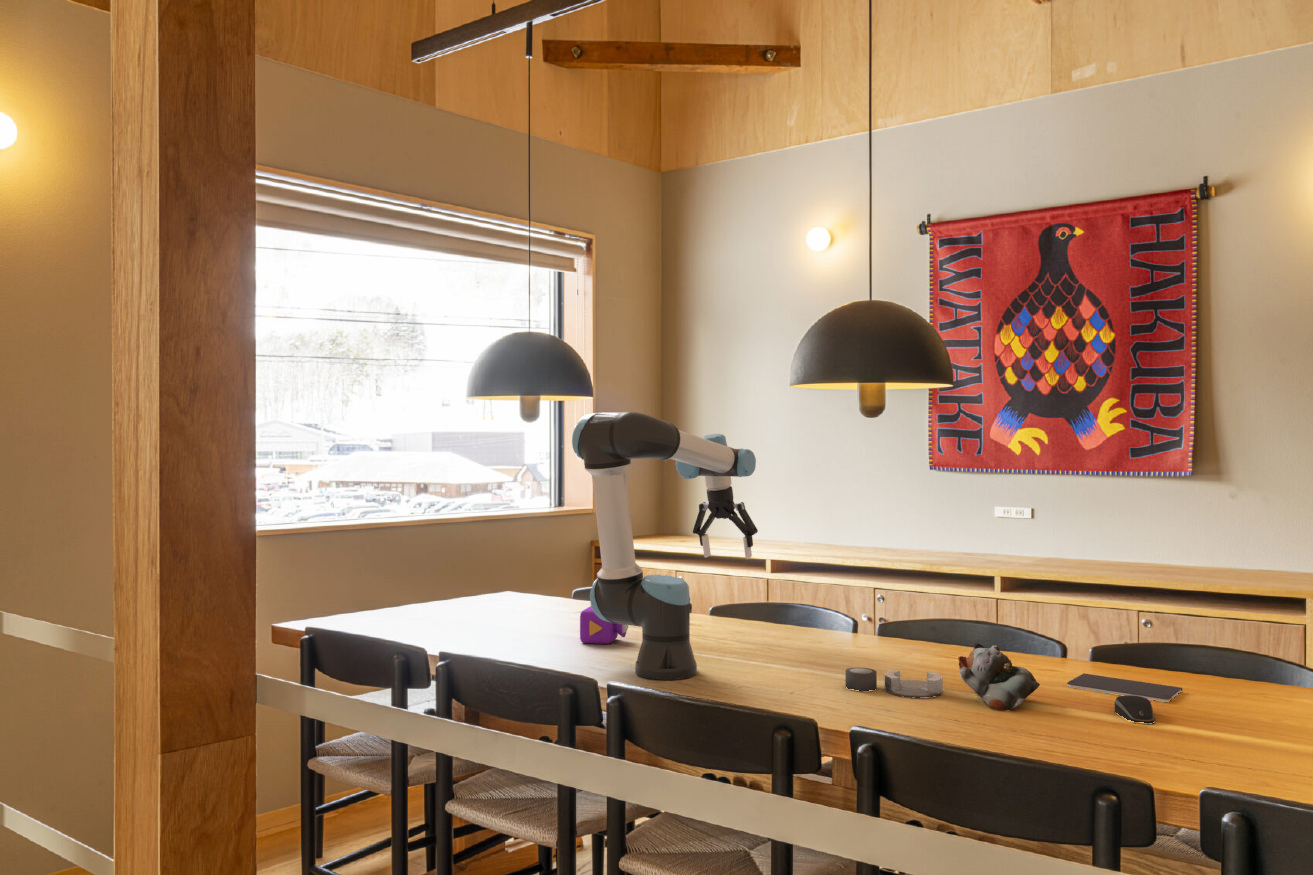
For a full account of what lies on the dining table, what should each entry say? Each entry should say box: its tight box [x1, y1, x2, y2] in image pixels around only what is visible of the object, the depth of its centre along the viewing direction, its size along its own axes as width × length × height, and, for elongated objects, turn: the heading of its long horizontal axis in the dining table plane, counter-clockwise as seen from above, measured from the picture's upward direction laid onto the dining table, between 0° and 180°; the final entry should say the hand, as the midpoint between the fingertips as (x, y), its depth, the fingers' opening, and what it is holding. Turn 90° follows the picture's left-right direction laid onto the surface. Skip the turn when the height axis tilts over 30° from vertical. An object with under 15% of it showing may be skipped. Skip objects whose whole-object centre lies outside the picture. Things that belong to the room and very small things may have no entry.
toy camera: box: [579, 604, 629, 645], centre depth 271 cm, size 11×14×10 cm
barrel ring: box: [884, 669, 943, 699], centre depth 215 cm, size 13×13×4 cm
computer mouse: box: [1114, 695, 1156, 723], centre depth 195 cm, size 7×12×4 cm, turn 167°
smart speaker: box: [844, 667, 878, 691], centre depth 218 cm, size 7×7×4 cm
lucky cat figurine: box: [957, 643, 1040, 711], centre depth 205 cm, size 15×12×14 cm
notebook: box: [1066, 673, 1183, 702], centre depth 215 cm, size 13×2×21 cm
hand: (727, 557), depth 279 cm, fingers open, 13 cm apart
